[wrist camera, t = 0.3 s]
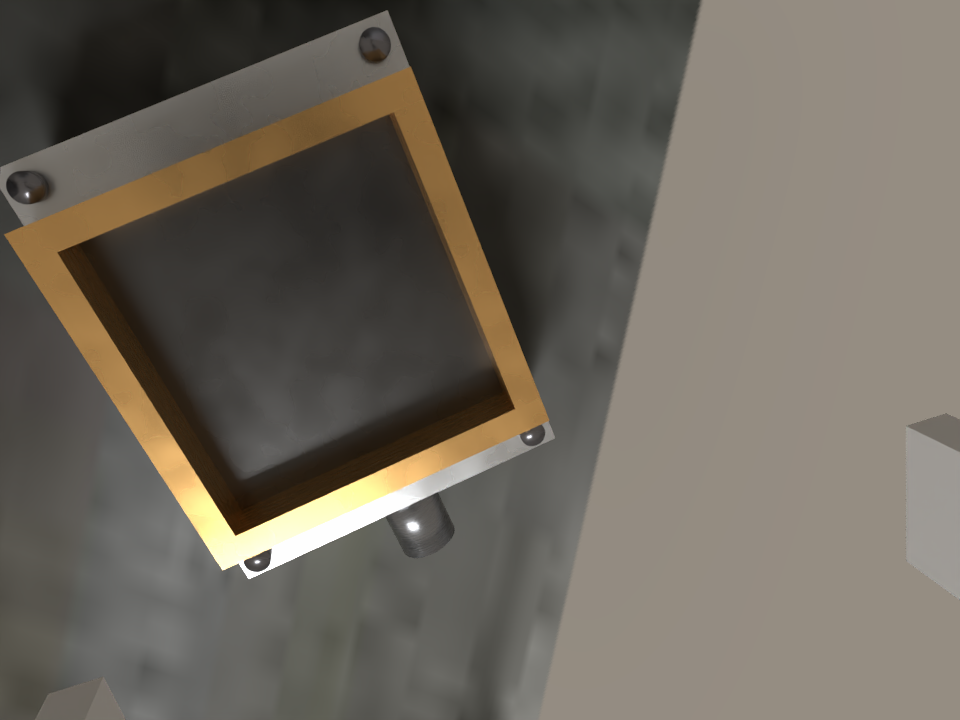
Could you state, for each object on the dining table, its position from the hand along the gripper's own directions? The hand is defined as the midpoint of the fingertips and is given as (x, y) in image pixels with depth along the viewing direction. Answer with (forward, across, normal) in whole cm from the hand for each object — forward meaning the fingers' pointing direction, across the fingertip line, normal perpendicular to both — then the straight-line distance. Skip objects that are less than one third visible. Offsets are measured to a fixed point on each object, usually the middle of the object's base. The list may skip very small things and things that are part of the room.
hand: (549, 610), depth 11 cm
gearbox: (+26, -4, -1) cm, 27 cm away
